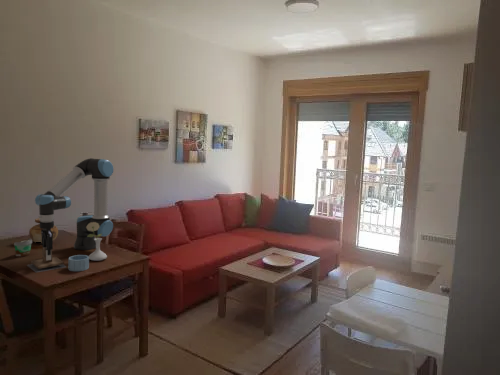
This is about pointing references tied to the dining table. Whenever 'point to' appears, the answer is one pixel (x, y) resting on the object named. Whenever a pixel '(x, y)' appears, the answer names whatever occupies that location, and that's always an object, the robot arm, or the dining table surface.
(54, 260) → the walnut lid
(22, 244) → the food container
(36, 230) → the clay pot
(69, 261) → the ceramic bowl
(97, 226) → the flower in vase
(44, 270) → the rubber mat
